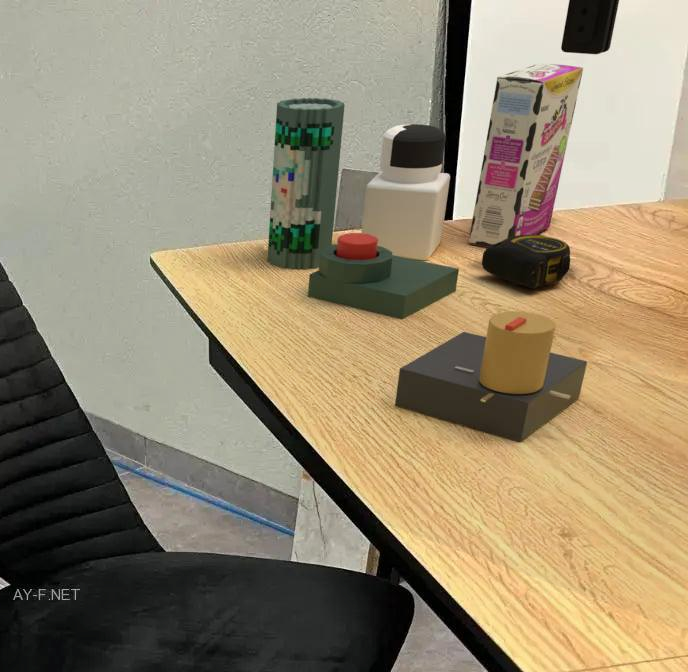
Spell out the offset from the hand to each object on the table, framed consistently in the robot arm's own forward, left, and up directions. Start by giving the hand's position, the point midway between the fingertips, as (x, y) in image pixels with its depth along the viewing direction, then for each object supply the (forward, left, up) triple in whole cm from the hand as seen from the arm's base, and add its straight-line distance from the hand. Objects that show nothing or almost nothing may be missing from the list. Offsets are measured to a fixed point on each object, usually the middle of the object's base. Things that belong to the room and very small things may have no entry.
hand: (584, 51), depth 89 cm
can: (+26, -2, -22) cm, 34 cm away
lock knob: (-8, +21, -19) cm, 29 cm away
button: (+16, +4, -18) cm, 24 cm away
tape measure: (+5, -9, -22) cm, 24 cm away
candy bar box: (+13, -23, -22) cm, 34 cm away
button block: (+14, +2, -22) cm, 26 cm away
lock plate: (-6, +20, -22) cm, 30 cm away
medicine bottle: (+20, -12, -22) cm, 32 cm away
